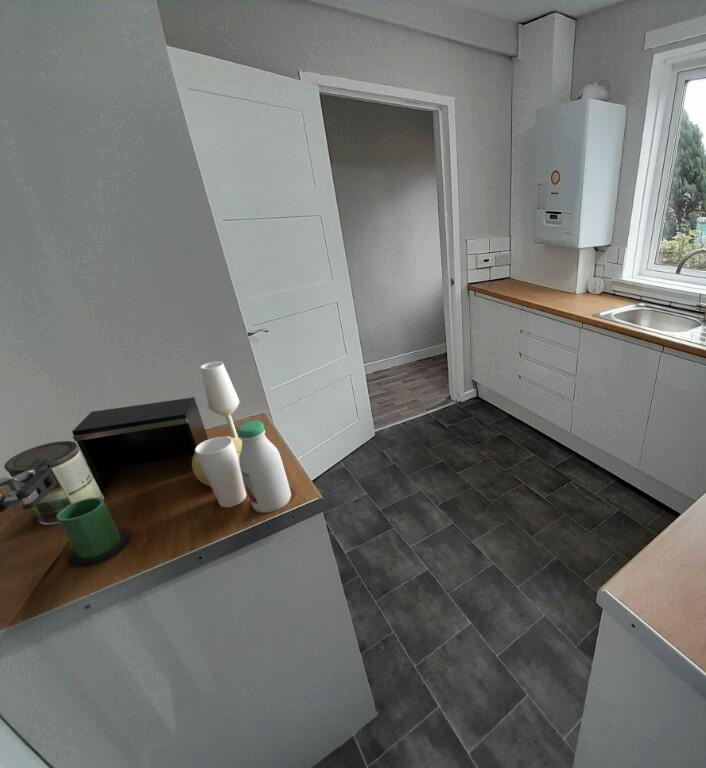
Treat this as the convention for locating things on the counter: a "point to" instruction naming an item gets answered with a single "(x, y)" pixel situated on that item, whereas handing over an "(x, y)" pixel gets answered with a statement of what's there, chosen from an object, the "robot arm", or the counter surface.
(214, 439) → the drinking glass
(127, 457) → the cubby
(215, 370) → the champagne flute
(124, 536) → the dark round coaster
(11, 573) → the counter surface
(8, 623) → the counter surface
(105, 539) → the pot
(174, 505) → the counter surface
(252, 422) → the milk bottle
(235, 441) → the yellow ball
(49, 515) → the coffee can
